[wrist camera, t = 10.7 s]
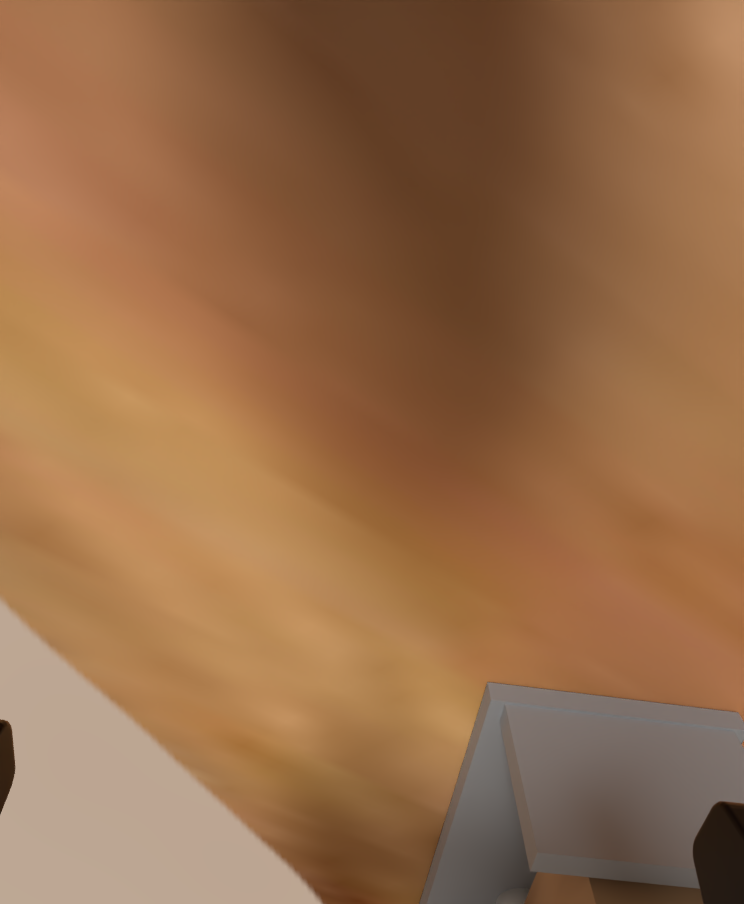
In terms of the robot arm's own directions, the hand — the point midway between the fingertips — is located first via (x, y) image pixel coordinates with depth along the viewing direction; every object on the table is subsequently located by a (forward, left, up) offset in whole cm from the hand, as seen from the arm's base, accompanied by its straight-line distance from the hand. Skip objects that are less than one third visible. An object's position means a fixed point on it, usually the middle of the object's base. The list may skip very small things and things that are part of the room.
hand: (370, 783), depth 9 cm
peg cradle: (-10, +17, -12) cm, 23 cm away
